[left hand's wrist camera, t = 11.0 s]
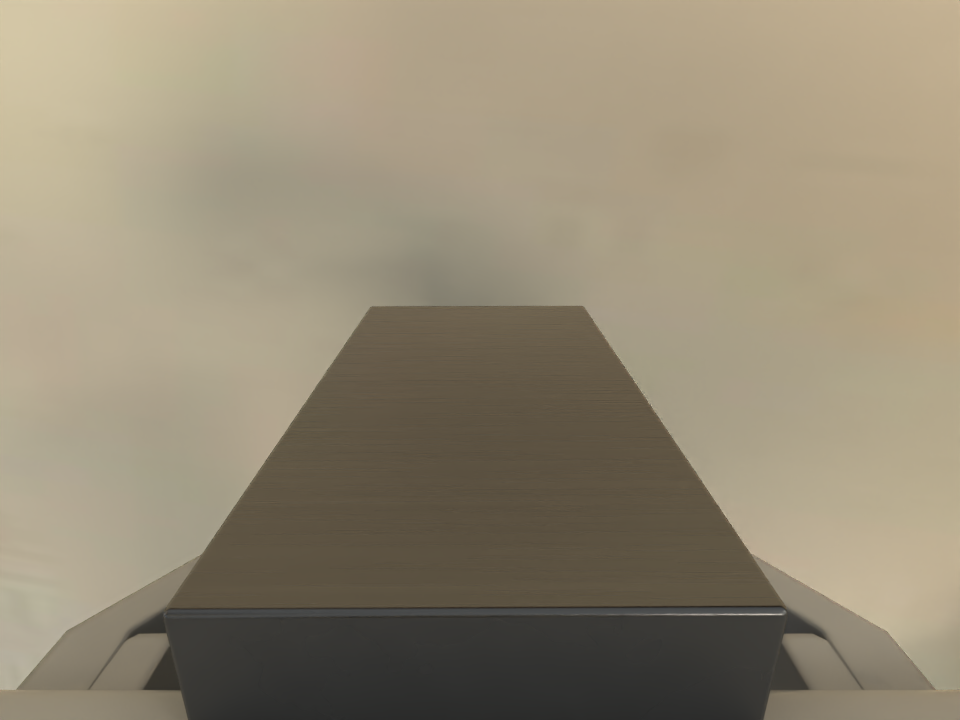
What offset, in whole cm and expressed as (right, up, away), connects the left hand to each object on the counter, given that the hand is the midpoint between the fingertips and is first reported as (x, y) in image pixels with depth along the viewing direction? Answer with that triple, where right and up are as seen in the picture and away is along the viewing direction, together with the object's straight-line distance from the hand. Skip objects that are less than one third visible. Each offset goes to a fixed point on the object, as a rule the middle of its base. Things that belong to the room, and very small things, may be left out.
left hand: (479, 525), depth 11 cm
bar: (0, -8, +7) cm, 11 cm away
